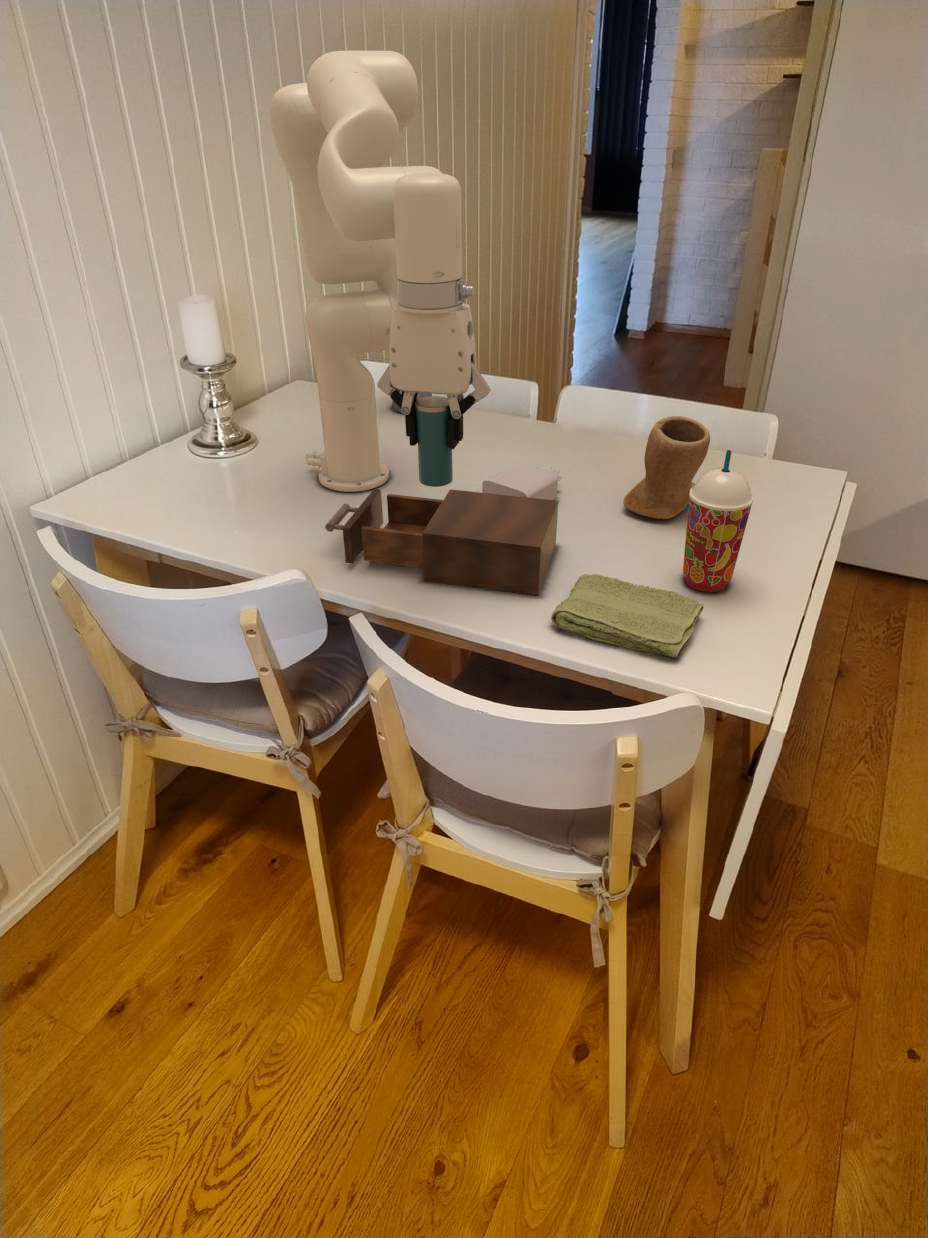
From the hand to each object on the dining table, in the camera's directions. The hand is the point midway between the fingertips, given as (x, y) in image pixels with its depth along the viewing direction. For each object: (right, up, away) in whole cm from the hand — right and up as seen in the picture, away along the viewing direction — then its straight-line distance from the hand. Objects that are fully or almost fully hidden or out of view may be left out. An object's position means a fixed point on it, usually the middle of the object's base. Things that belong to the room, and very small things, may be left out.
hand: (434, 442), depth 107 cm
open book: (+15, -2, +37) cm, 40 cm away
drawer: (-7, -11, +21) cm, 24 cm away
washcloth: (+25, -23, +5) cm, 35 cm away
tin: (0, -4, +3) cm, 5 cm away
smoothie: (+38, -18, +13) cm, 44 cm away
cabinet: (+8, -14, +18) cm, 24 cm away
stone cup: (+38, -4, +34) cm, 51 cm away
